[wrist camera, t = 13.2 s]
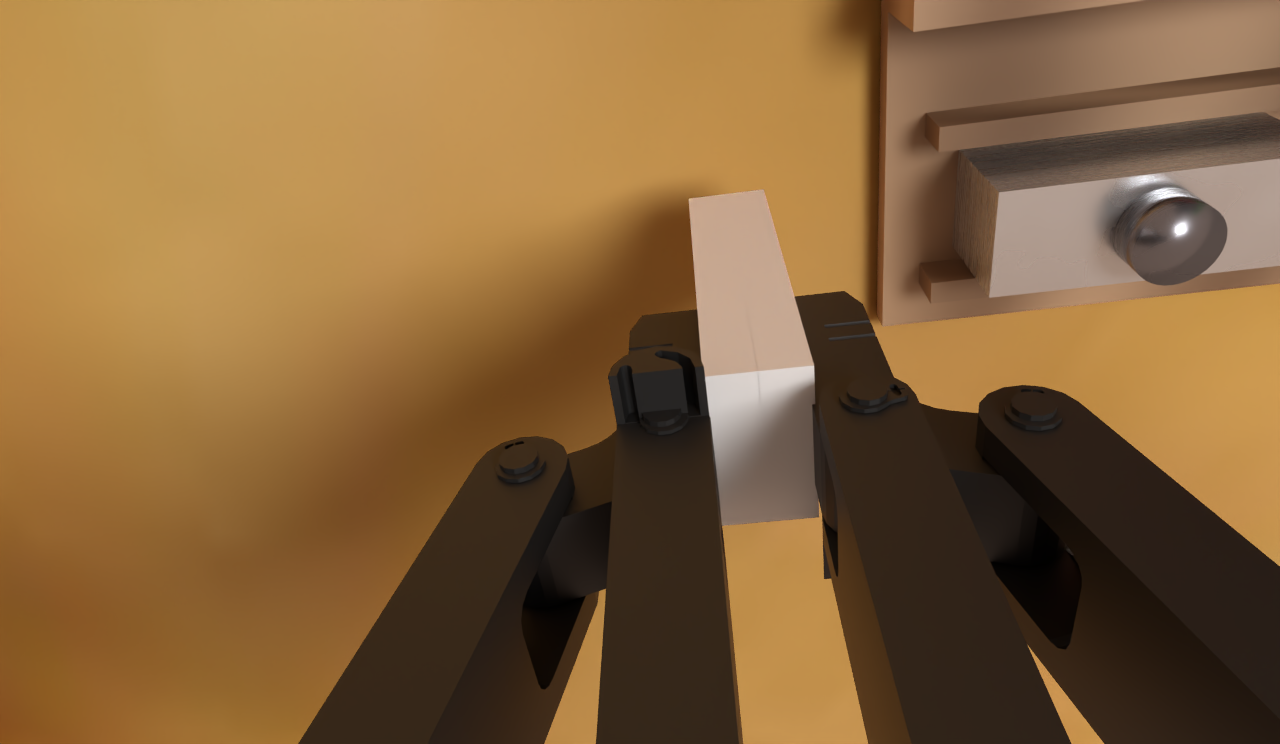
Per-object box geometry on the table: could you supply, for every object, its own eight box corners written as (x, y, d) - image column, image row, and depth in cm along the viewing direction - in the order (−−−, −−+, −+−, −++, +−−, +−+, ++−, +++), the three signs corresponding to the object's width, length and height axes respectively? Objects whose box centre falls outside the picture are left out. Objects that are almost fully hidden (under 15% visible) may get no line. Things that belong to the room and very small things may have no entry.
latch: (952, 245, 19) (1002, 317, 16) (958, 148, 18) (1014, 209, 15) (1235, 212, 18) (1337, 281, 16) (1261, 110, 17) (1377, 165, 15)
